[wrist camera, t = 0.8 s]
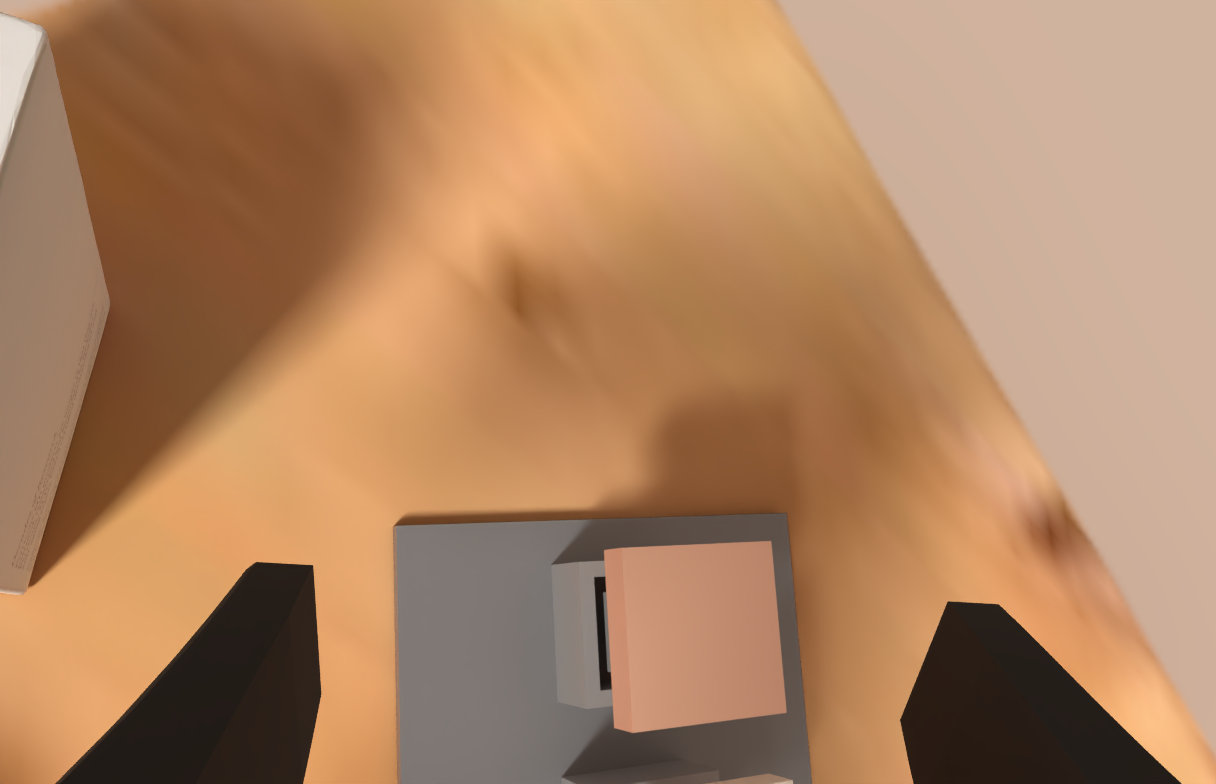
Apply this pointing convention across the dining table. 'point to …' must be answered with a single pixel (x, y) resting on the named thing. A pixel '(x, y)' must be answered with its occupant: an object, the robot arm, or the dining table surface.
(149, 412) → the dining table surface
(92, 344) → the supplement box
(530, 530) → the keypad base
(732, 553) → the key terracotta
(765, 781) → the key cream
